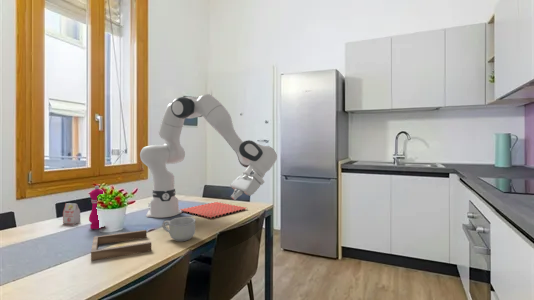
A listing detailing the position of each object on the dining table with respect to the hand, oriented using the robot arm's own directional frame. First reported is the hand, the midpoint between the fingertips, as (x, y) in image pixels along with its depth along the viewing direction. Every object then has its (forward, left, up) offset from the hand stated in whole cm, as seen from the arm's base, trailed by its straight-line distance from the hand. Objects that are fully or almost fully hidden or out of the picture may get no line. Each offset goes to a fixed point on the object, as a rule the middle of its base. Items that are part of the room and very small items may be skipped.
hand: (232, 198), depth 137 cm
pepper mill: (-36, -55, -15) cm, 67 cm away
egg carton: (-42, +4, -16) cm, 45 cm away
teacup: (0, -24, -15) cm, 28 cm away
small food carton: (-51, -67, -15) cm, 86 cm away
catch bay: (0, -45, -15) cm, 47 cm away
